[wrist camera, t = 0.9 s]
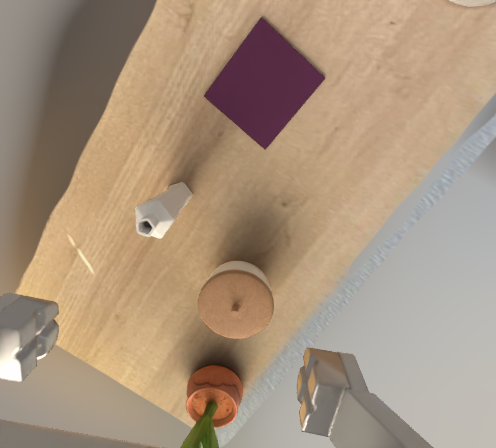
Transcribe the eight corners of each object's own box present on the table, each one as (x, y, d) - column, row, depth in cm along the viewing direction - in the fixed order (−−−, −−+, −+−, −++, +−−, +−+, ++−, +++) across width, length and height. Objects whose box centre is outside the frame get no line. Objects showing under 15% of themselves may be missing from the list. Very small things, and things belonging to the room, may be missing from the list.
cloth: (261, 17, 42) (261, 17, 41) (324, 78, 43) (325, 78, 43) (204, 96, 45) (203, 96, 45) (265, 149, 47) (265, 149, 47)
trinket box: (194, 286, 54) (180, 320, 46) (230, 237, 51) (223, 263, 42) (247, 320, 56) (244, 359, 47) (286, 274, 53) (290, 307, 44)
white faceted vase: (157, 190, 50) (114, 222, 35) (180, 174, 49) (145, 200, 34) (176, 215, 51) (141, 255, 36) (199, 199, 50) (172, 234, 35)
